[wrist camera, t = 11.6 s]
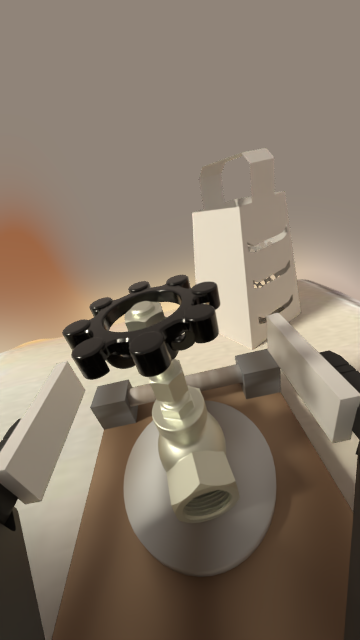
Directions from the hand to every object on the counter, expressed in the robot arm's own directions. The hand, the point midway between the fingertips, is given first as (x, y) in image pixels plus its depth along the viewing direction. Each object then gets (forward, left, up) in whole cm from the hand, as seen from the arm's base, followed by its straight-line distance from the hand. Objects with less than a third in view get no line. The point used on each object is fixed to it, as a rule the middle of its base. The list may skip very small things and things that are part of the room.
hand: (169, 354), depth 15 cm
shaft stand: (0, -3, -9) cm, 10 cm away
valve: (0, -3, -7) cm, 8 cm away
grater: (+10, +17, -9) cm, 22 cm away
